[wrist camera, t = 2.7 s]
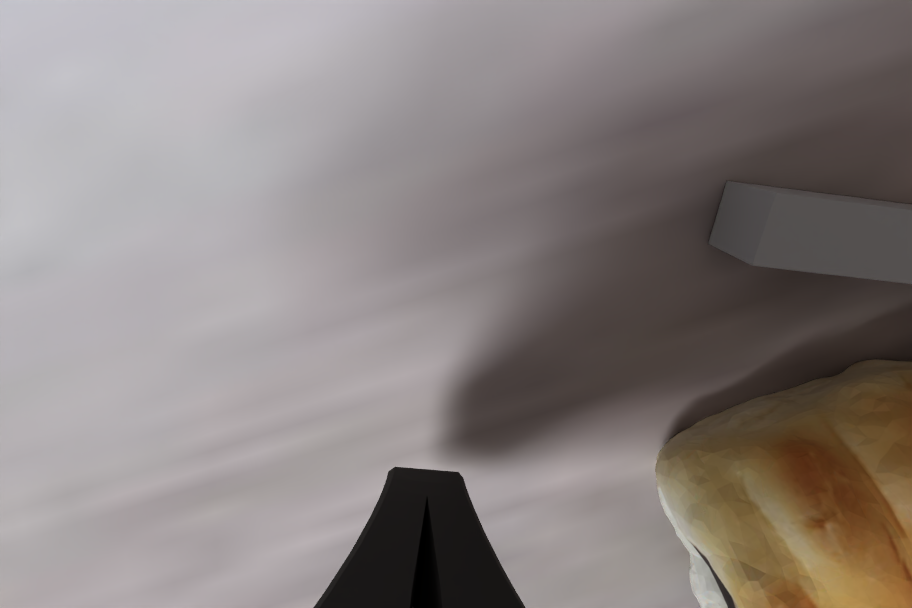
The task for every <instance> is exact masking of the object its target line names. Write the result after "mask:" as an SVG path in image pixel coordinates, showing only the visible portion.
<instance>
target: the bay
mask: <svg viewBox="0 0 912 608" xmlns="http://www.w3.org/2000/svg"><path fill="white" fill-rule="evenodd" d="M708 244H709V245H711V246H713V247H715V248H717V249H719V250H721V251H724V252H726V253H728V254H730V255H732V256H734V257H736V258H738V259H740V260H742V261H744V262H746V263H748V264H750V265H752V266H759V267H768V268H776V269H785V270H794V271H802V272H811V273H820V274H828V275H837V276H845V277H854V278H863V279H871V280H880V281H889V282H897V283H906V284H912V204H904V203H896V202H889V201H881V200H873V199H865V198H857V197H850V196H842V195H834V194H826V193H818V192H810V191H803V190H795V189H787V188H779V187H771V186H764V185H756V184H748V183H740V182H732V181H727V182H726V186H725V189H724V192H723V196H722V199H721V202H720V206H719V209H718V213H717V216H716V219H715V223H714V226H713V229H712V233H711V236H710V239H709V243H708Z"/></svg>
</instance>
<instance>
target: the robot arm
mask: <svg viewBox="0 0 912 608" xmlns="http://www.w3.org/2000/svg"><path fill="white" fill-rule="evenodd" d="M314 608H525V606H524V604H523V603H522V601H521V599H520V598H519V596H518V594H517V593H516V591H515V589H514V587H513V586H512V584H511V582H510V580H509V579H508V577H507V575H506V573H505V571H504V570H503V568H502V566H501V564H500V562H499V560H498V558H497V556H496V554H495V552H494V550H493V548H492V546H491V544H490V542H489V540H488V538H487V536H486V534H485V532H484V530H483V528H482V525H481V523H480V521H479V519H478V516H477V514H476V512H475V509H474V507H473V505H472V502H471V500H470V497H469V494H468V491H467V489H466V486H465V483H464V479H463V477H462V476H461V475H460V474H459V472H450V471H438V470H426V469H414V468H401V467H394V468H393V469H391V470H390V471H389V472H388V476H387V480H386V483H385V485H384V488H383V491H382V493H381V495H380V498H379V500H378V502H377V504H376V506H375V508H374V510H373V512H372V515H371V517H370V519H369V520H368V522H367V524H366V526H365V528H364V529H363V531H362V533H361V535H360V537H359V538H358V540H357V542H356V544H355V545H354V547H353V549H352V551H351V552H350V554H349V556H348V557H347V559H346V560H345V562H344V563H343V565H342V566H341V568H340V569H339V571H338V572H337V574H336V576H335V577H334V579H333V580H332V582H331V583H330V585H329V586H328V588H327V589H326V591H325V592H324V594H323V595H322V597H321V598H320V599H319V601H318V602H317V604H316V605H315V606H314Z"/></svg>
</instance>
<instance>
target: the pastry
mask: <svg viewBox="0 0 912 608" xmlns="http://www.w3.org/2000/svg"><path fill="white" fill-rule="evenodd" d="M655 471H656V477H657V490H658V494H659V498H660V502H661V504H662V507H663V509H664V512H665V514H666V515H667V517H668V518H669V520H670V521H671V523H672V525H673V526H674V528H675V531H676V534H677V536H678V537H679V538H680V539H681V541H682V543H683V544H684V546H685V547H686V548H687V550H688V551H689V553H690V569H689V573H690V583H691V587H692V591H693V593H694V595H695V596H696V598H697V600H698V602H699V604H700V607H701V608H912V362H910V361H891V360H877V359H874V360H866V361H860V362H856V363H854V364H853V365H851V366H849V367H848V368H847V369H846V370H845V371H844V372H842V373H840V374H838V375H835V376H831V377H825V378H819V379H815V380H812V381H809V382H807V383H804V384H801V385H799V386H796V387H793V388H790V389H787V390H783V391H780V392H776V393H773V394H769V395H764V396H760V397H757V398H754V399H752V400H749V401H747V402H745V403H742V404H739V405H736V406H734V407H731V408H729V409H727V410H725V411H723V412H720V413H718V414H715V415H712V416H709V417H706V418H705V419H703V420H701V421H699V422H697V423H696V424H694V425H693V426H691V427H689V428H688V429H686V430H684V431H682V432H680V433H678V434H677V435H676V436H674V437H673V438H671V439H670V440H669V441H668V442H667V443H666V444H665V445H664V447H663V448H662V449H661V450H660V452H659V454H658V456H657V463H656V469H655Z"/></svg>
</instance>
